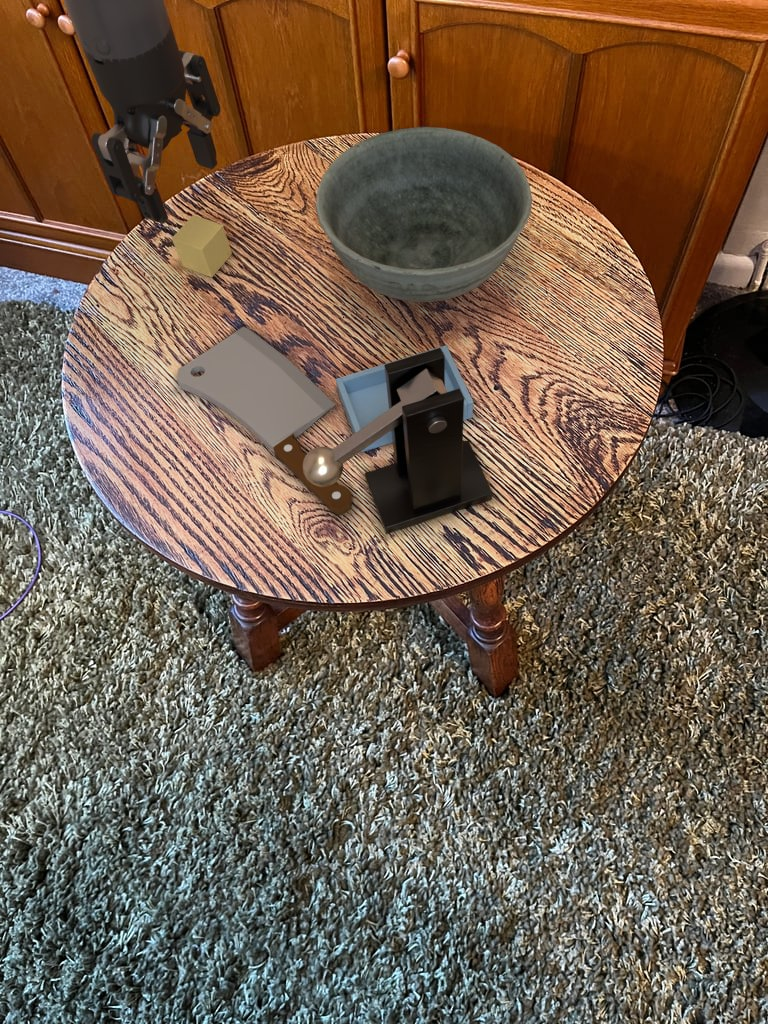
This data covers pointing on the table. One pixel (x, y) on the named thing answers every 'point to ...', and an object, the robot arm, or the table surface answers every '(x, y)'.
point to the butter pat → (202, 245)
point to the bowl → (423, 211)
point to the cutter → (426, 454)
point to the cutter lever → (368, 432)
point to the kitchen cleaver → (264, 400)
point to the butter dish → (370, 398)
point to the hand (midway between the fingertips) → (183, 192)
